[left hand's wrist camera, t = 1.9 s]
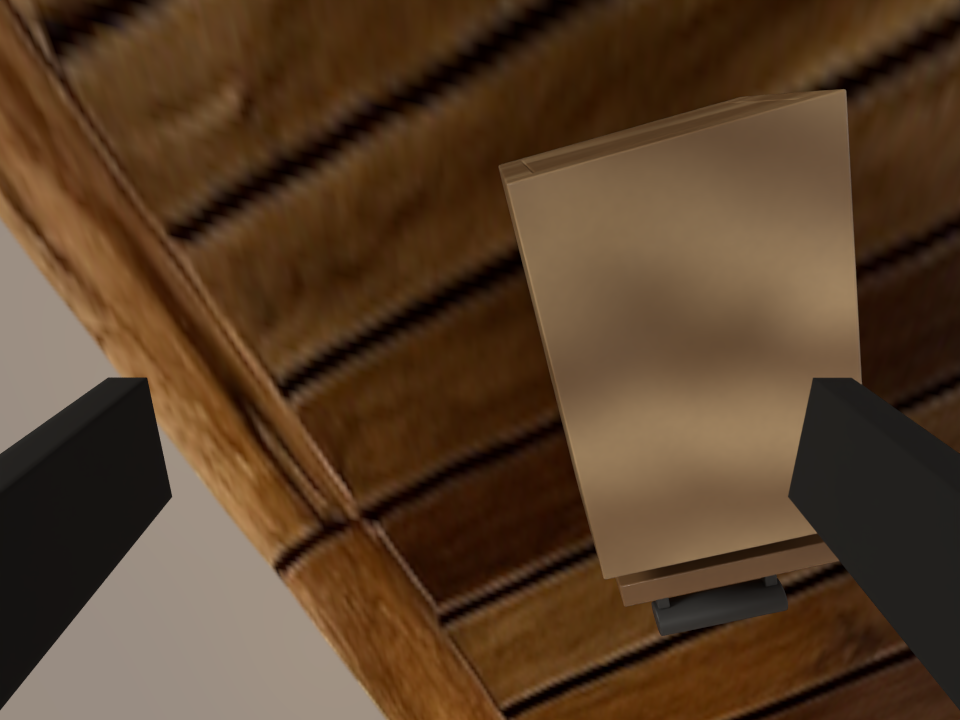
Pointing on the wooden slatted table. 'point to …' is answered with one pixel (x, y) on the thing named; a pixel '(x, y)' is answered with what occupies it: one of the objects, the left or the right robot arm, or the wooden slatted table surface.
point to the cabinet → (692, 315)
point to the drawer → (722, 584)
